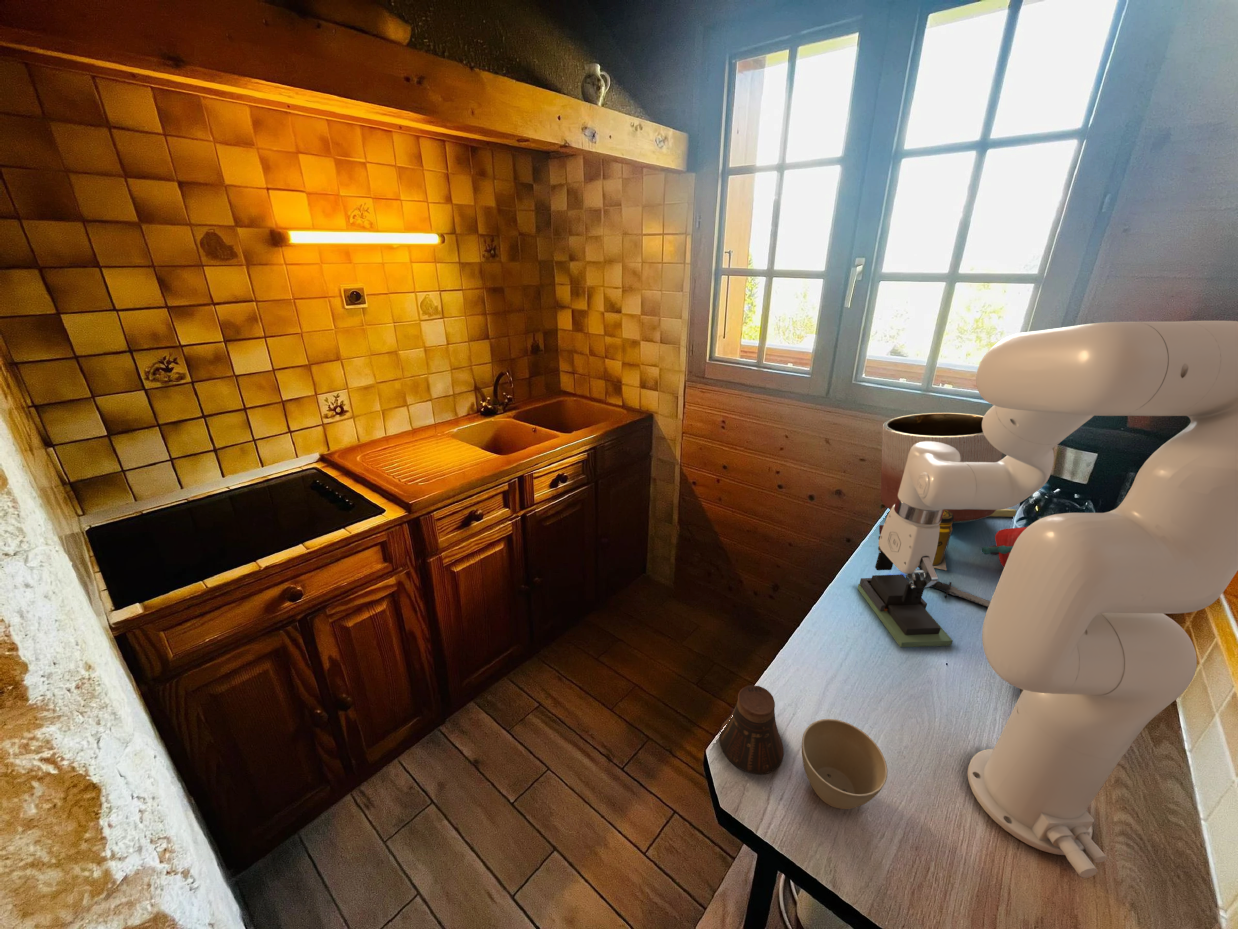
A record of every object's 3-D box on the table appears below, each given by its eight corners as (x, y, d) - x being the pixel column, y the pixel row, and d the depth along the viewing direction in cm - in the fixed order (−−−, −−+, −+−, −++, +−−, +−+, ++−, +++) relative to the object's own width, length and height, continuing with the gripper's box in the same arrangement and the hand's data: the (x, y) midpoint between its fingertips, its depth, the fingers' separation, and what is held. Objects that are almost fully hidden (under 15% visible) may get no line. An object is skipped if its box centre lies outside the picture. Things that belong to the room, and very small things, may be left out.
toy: (1046, 570, 112) (963, 577, 111) (1036, 526, 114) (954, 532, 113) (1127, 572, 95) (1030, 579, 94) (1113, 520, 97) (1018, 527, 96)
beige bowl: (780, 789, 65) (787, 754, 62) (814, 739, 71) (823, 705, 68) (856, 850, 58) (868, 814, 55) (886, 789, 65) (899, 754, 62)
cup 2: (814, 715, 65) (794, 757, 70) (763, 664, 71) (748, 706, 76) (769, 749, 60) (751, 791, 66) (719, 692, 67) (706, 734, 72)
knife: (1022, 605, 94) (1020, 619, 91) (1018, 612, 95) (1016, 627, 91) (911, 564, 105) (905, 576, 102) (908, 572, 106) (903, 583, 102)
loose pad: (916, 608, 94) (921, 594, 93) (885, 609, 94) (888, 596, 92) (898, 586, 100) (902, 574, 98) (868, 587, 99) (872, 575, 98)
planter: (906, 483, 144) (908, 409, 137) (1012, 501, 124) (1021, 415, 117) (862, 511, 130) (862, 430, 123) (974, 536, 110) (981, 442, 103)
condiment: (908, 562, 109) (922, 516, 104) (908, 542, 116) (921, 498, 111) (946, 571, 106) (962, 524, 101) (943, 551, 113) (958, 506, 108)
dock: (951, 645, 87) (955, 634, 86) (900, 647, 87) (904, 636, 86) (900, 587, 101) (903, 576, 100) (857, 588, 101) (859, 577, 100)
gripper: (873, 487, 96) (856, 558, 103) (927, 536, 80) (902, 617, 87) (911, 486, 96) (891, 557, 103) (972, 535, 80) (943, 615, 88)
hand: (896, 584), depth 95 cm, fingers open, 9 cm apart
